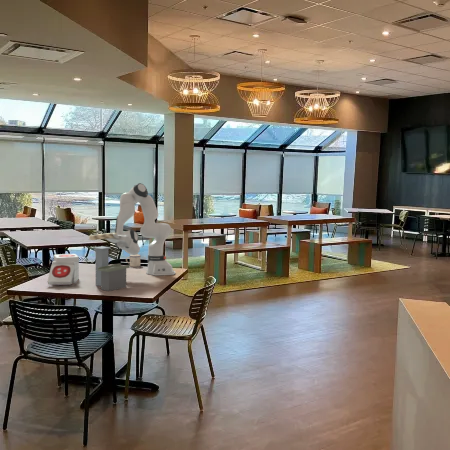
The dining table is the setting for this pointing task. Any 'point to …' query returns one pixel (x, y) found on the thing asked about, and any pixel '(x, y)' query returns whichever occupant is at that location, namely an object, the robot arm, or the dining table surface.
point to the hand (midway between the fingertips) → (110, 234)
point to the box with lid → (113, 276)
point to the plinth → (101, 261)
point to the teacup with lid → (134, 260)
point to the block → (101, 236)
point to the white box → (64, 269)
